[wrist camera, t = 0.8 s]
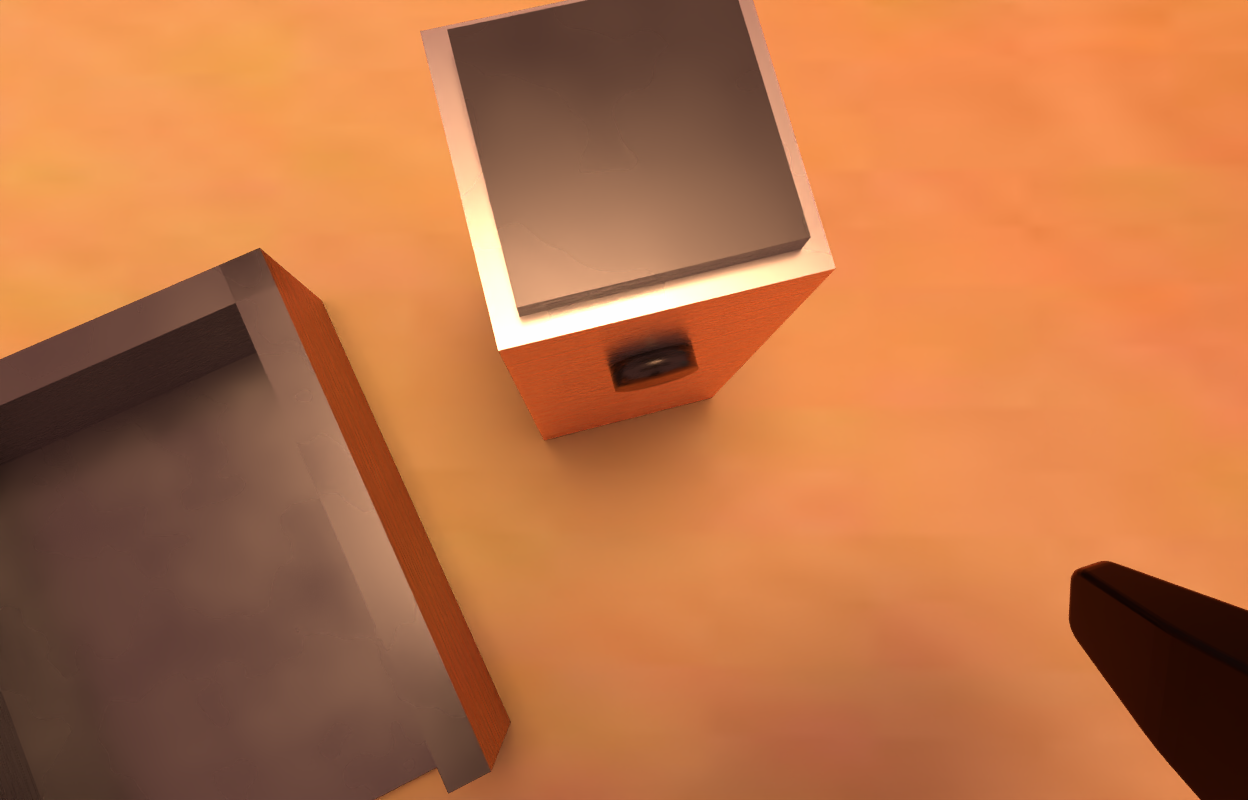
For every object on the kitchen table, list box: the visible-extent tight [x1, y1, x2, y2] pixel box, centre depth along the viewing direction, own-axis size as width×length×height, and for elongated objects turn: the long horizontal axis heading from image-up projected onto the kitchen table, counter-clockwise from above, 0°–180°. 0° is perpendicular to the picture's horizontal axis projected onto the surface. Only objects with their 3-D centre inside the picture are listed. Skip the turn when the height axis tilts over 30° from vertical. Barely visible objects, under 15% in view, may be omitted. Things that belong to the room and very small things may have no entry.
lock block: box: [420, 0, 836, 440], centre depth 18 cm, size 5×5×12 cm
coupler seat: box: [0, 248, 510, 800], centre depth 20 cm, size 13×12×4 cm
